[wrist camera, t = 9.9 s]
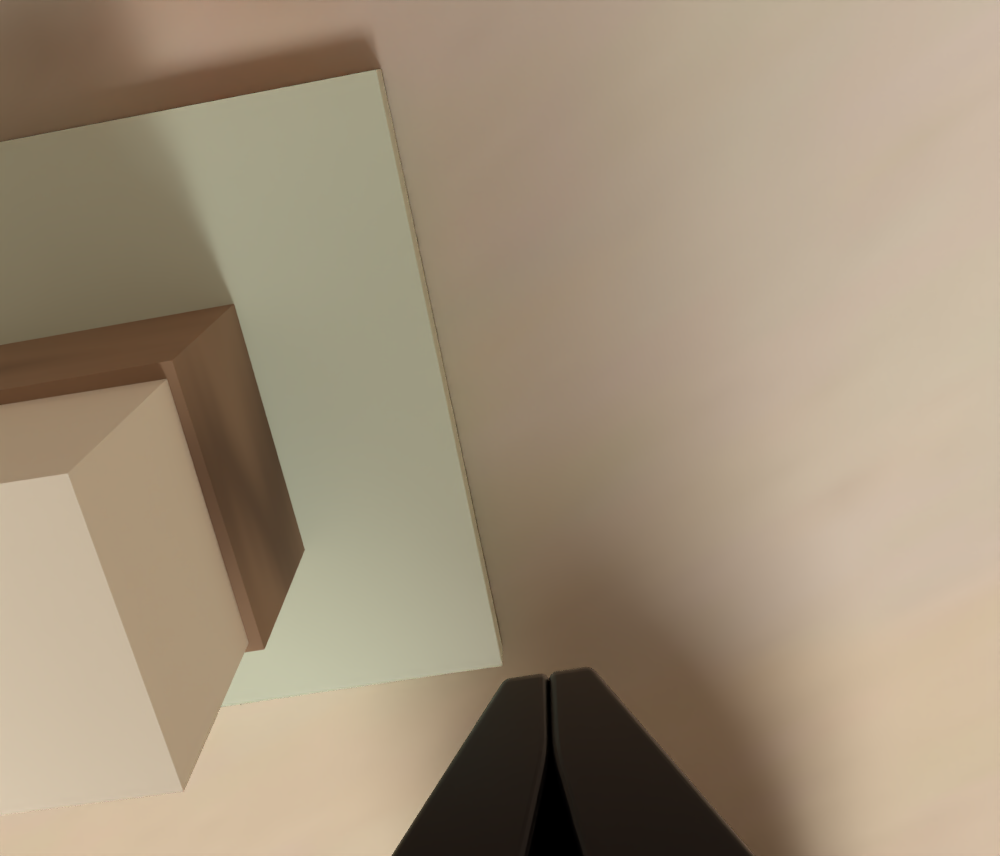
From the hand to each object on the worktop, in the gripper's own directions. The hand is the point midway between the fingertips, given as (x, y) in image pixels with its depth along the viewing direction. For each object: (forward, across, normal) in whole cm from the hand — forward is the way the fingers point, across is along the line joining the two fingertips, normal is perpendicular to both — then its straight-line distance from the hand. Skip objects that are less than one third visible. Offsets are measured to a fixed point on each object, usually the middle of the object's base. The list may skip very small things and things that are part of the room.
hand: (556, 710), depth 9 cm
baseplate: (+13, +9, +1) cm, 16 cm away
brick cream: (+8, +9, +1) cm, 12 cm away
